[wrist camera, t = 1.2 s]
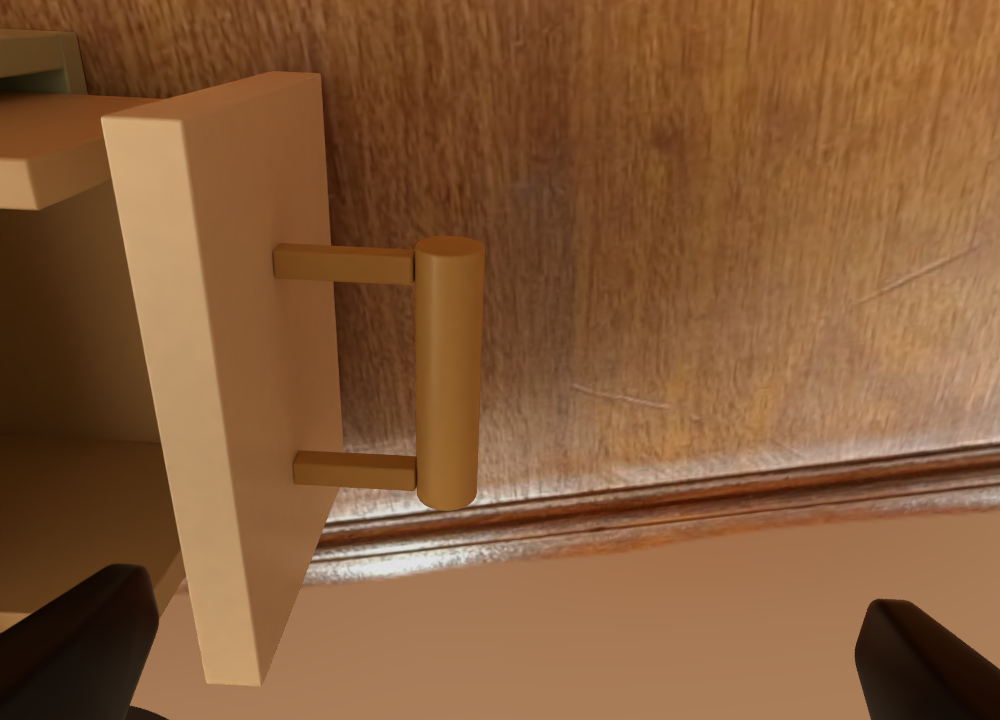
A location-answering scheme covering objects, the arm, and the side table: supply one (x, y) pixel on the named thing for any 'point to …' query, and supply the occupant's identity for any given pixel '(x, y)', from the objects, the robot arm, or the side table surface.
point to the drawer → (199, 354)
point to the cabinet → (41, 62)
